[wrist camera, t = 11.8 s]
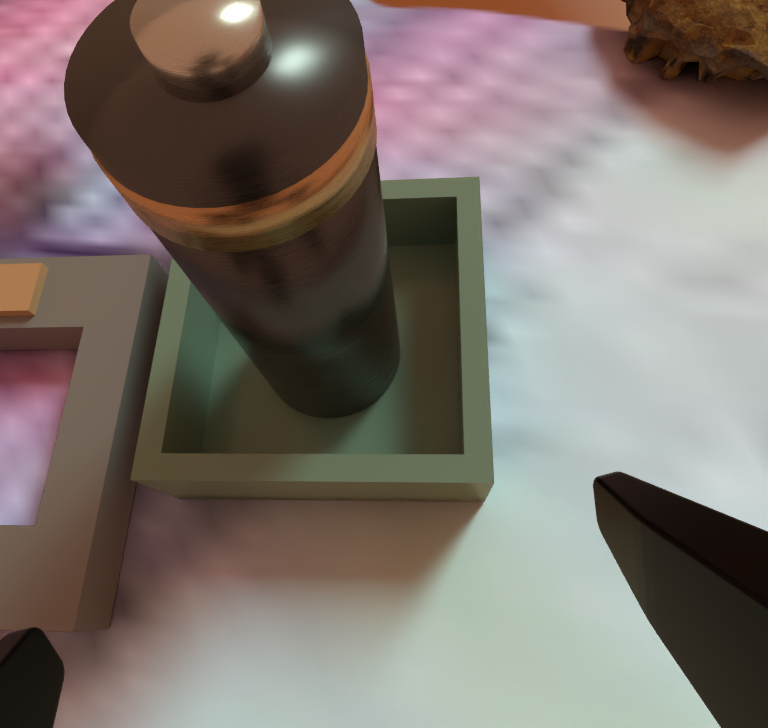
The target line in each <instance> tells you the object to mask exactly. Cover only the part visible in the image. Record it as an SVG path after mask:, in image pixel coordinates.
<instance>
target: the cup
mask: <svg viewBox="0 0 768 728" xmlns="http://www.w3.org/2000/svg"><path fill="white" fill-rule="evenodd" d="M380 182H381V190H382V199H383V207H384V215H385V224H386V232H387V241H388V249H389V257H390V266H391V274H392V282H393V291H394V299H395V308H396V316H397V324H398V333H399V341H400V362H399V367H398V370H397V373H396V375H395V378H394V380H393V382H392V383H391V385H390V386H389V388H388V389H387V391H386V392H385V393H384V394H383V395H382V396H381V397H380V398H379V399H378V400H377V401H376V402H375V403H373V404H372V405H370V406H369V407H368V408H366V409H364V410H362V411H360V412H358V413H355V414H353V415H349V416H345V417H341V418H317V417H312V416H308V415H305V414H303V413H300V412H298V411H296V410H295V409H293V408H291V407H290V406H289V405H287V404H286V403H285V402H284V401H283V400H282V399H281V398H280V397H279V396H278V395H277V394H276V392H275V391H274V390H273V388H272V387H271V386H270V384H269V383H268V382H267V380H266V379H265V378H264V376H263V375H262V374H261V373H260V371H259V370H258V369H257V367H256V366H255V365H254V363H253V362H252V361H251V359H250V358H249V357H248V356H247V354H246V353H245V352H244V350H243V349H242V348H241V346H240V345H239V344H238V342H237V341H236V340H235V339H234V337H233V336H232V335H231V333H230V332H229V331H228V329H227V328H226V327H225V325H224V324H223V323H222V322H221V320H220V319H219V318H218V316H217V315H216V314H215V312H214V311H213V310H212V308H211V307H210V306H209V305H208V303H207V302H206V301H205V299H204V298H203V297H202V295H201V294H200V293H199V291H198V290H197V289H196V288H195V286H194V285H193V284H192V282H191V281H190V280H189V278H188V277H187V276H186V274H185V273H184V272H183V271H182V269H181V268H180V267H179V265H178V264H177V263H176V261H175V260H174V259H173V257H172V262H171V267H170V273H169V278H168V283H167V288H166V294H165V299H164V304H163V310H162V315H161V320H160V325H159V331H158V336H157V341H156V346H155V352H154V357H153V362H152V367H151V373H150V378H149V383H148V389H147V394H146V399H145V404H144V410H143V415H142V420H141V425H140V431H139V436H138V441H137V446H136V452H135V457H134V462H133V468H132V473H131V478H130V480H132V481H134V482H137V483H140V484H142V485H145V486H148V487H150V488H153V489H156V490H158V491H161V492H164V493H166V494H169V495H172V496H174V497H177V498H181V499H271V500H360V501H449V502H485V500H486V498H487V496H488V494H489V492H490V490H491V488H492V486H493V484H494V472H493V451H492V430H491V410H490V389H489V368H488V347H487V326H486V305H485V285H484V264H483V243H482V222H481V201H480V180H479V177H462V178H436V179H411V180H385V181H380Z"/></svg>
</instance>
